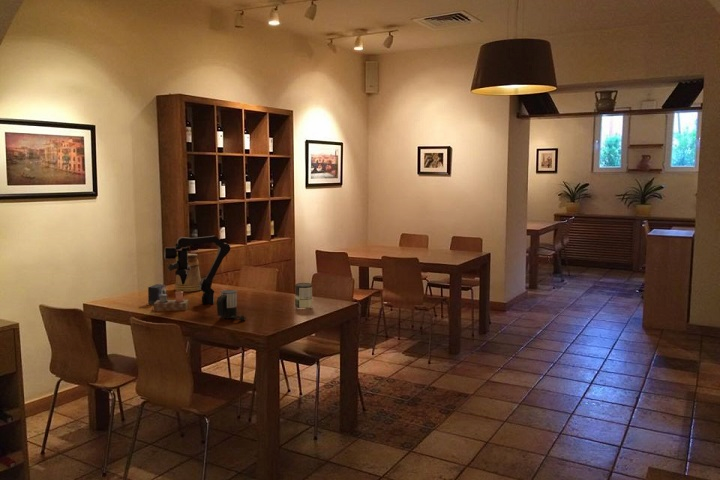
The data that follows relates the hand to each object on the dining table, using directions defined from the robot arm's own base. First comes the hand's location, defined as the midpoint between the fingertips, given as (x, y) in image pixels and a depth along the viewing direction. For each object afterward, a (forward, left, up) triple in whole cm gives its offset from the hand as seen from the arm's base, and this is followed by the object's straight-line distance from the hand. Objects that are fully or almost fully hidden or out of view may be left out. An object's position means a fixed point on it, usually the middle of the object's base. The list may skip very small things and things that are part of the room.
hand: (183, 284), depth 350 cm
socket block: (+6, +7, -13) cm, 16 cm away
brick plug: (+2, +7, -11) cm, 13 cm away
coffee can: (-71, +12, -13) cm, 73 cm away
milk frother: (-31, +35, -13) cm, 49 cm away
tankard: (+5, -50, -13) cm, 52 cm away
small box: (+17, -10, -13) cm, 24 cm away
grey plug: (+11, +7, -13) cm, 18 cm away
